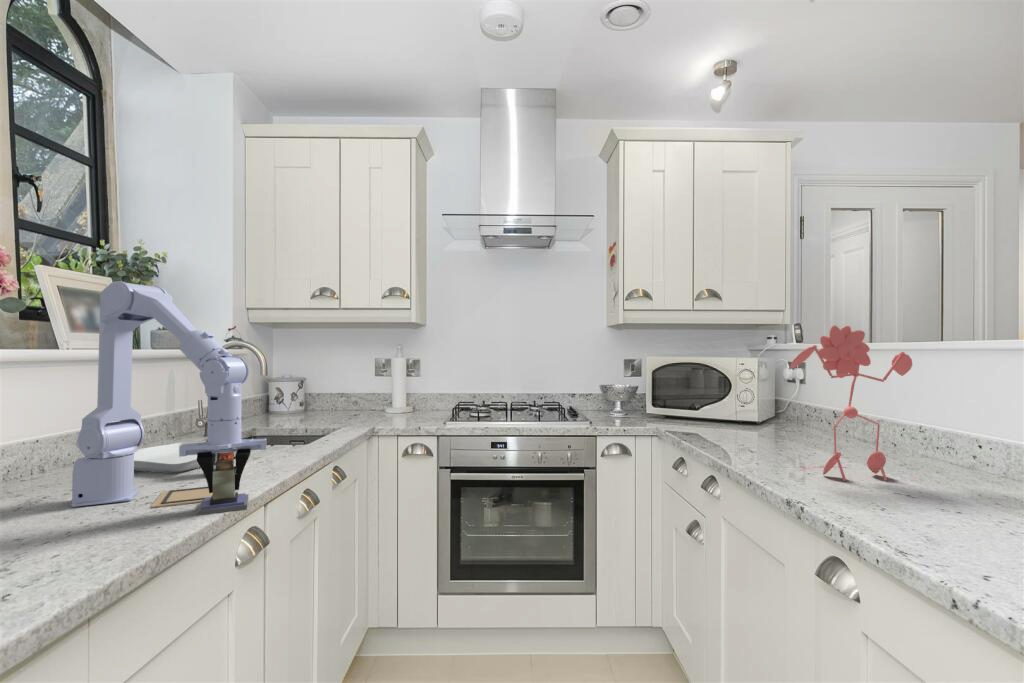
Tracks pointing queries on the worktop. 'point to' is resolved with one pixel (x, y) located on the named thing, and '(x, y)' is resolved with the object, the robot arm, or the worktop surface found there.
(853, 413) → the figurine
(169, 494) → the sheet
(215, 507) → the ink pad
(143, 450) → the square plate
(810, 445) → the worktop surface
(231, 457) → the supplement bottle
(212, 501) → the stamp
